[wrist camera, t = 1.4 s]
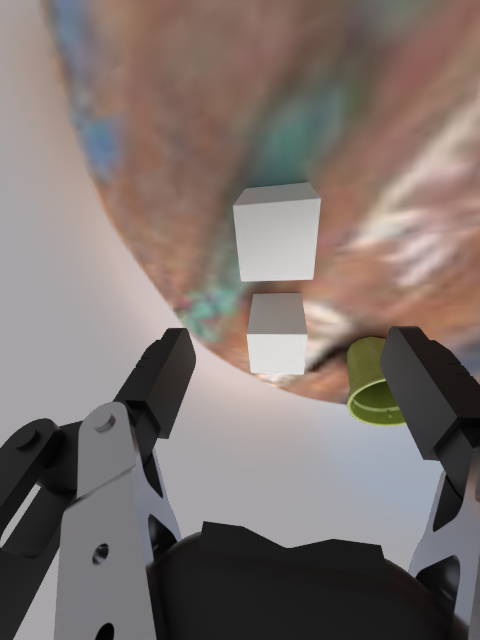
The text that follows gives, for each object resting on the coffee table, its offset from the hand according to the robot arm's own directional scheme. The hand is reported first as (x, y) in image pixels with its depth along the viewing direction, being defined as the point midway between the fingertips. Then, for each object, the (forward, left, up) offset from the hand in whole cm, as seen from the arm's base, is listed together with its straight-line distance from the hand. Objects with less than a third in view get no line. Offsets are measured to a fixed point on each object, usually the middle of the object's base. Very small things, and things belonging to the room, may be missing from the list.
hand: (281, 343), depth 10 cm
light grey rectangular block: (+12, 0, -19) cm, 22 cm away
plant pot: (+19, +13, -19) cm, 29 cm away
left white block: (0, 0, -19) cm, 19 cm away
